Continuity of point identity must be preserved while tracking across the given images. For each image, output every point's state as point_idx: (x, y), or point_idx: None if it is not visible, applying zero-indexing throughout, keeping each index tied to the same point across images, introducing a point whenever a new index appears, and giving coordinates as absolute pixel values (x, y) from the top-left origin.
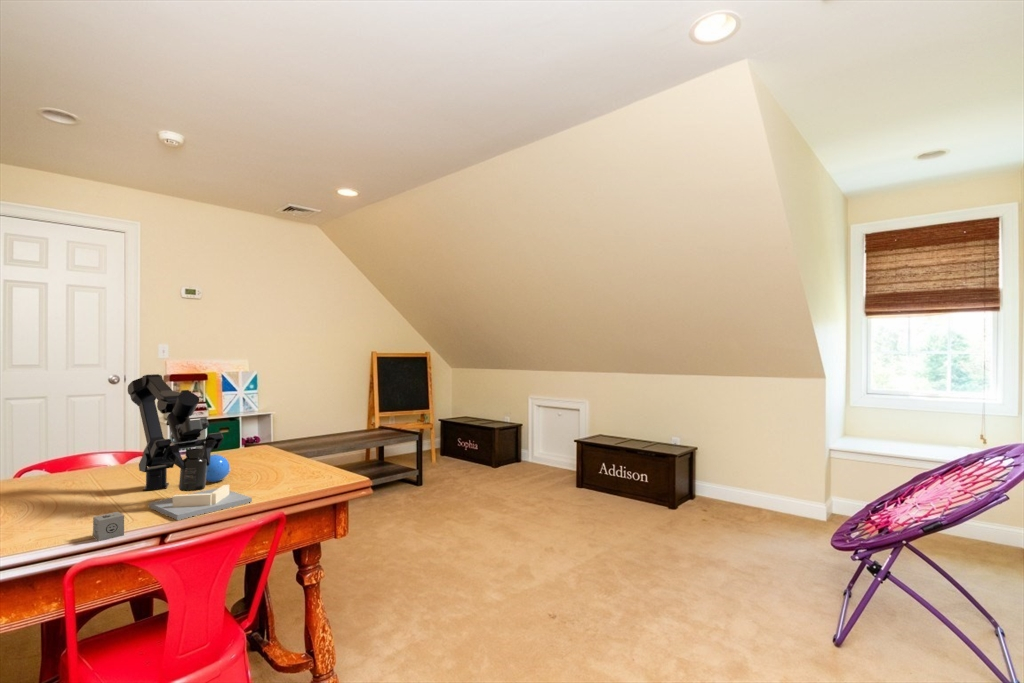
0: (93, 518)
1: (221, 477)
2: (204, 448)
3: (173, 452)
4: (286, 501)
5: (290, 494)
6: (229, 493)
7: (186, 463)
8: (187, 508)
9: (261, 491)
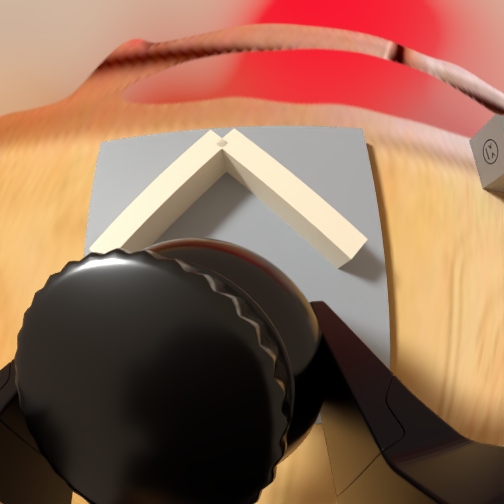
0: None
1: None
2: (9, 471)
3: (466, 440)
4: (66, 101)
5: (15, 161)
6: None
7: (305, 298)
8: (315, 178)
9: (18, 272)
